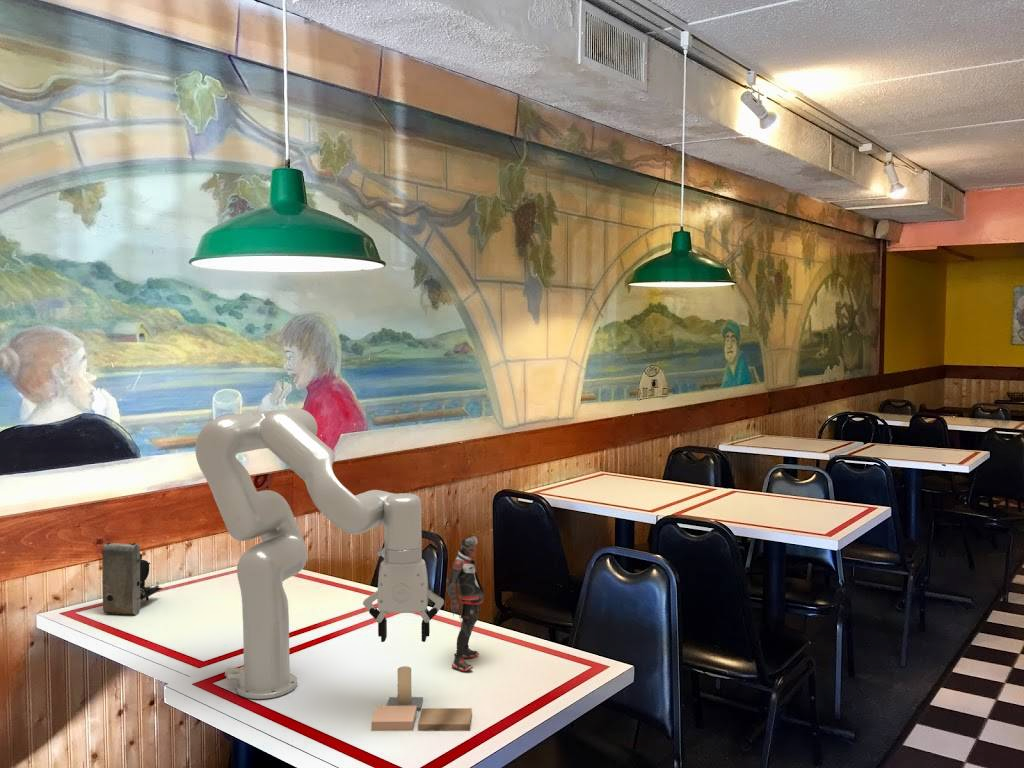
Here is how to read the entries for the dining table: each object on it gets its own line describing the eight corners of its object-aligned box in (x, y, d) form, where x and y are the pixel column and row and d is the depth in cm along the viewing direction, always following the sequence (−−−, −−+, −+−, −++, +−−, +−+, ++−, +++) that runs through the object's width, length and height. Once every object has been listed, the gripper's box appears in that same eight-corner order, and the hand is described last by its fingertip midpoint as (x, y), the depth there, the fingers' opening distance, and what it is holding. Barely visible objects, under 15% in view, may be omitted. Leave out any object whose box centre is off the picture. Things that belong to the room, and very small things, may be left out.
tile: (371, 721, 161) (412, 721, 161) (377, 705, 168) (416, 705, 168) (371, 732, 161) (412, 732, 161) (377, 716, 168) (416, 716, 168)
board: (418, 730, 161) (418, 724, 161) (422, 714, 168) (421, 708, 168) (469, 730, 161) (469, 724, 161) (471, 714, 168) (471, 708, 168)
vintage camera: (165, 601, 243) (163, 533, 243) (134, 616, 228) (132, 544, 227) (134, 600, 244) (133, 532, 244) (101, 616, 229) (99, 543, 229)
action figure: (463, 675, 187) (462, 543, 186) (432, 661, 195) (431, 535, 194) (497, 662, 195) (496, 535, 193) (465, 650, 203) (464, 527, 201)
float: (385, 711, 170) (385, 673, 169) (389, 700, 175) (389, 664, 174) (420, 711, 170) (420, 673, 169) (423, 700, 175) (422, 664, 174)
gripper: (357, 559, 167) (358, 646, 168) (444, 559, 167) (445, 646, 168) (363, 550, 174) (364, 633, 175) (447, 550, 174) (447, 633, 175)
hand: (404, 639), depth 171 cm, fingers open, 7 cm apart
